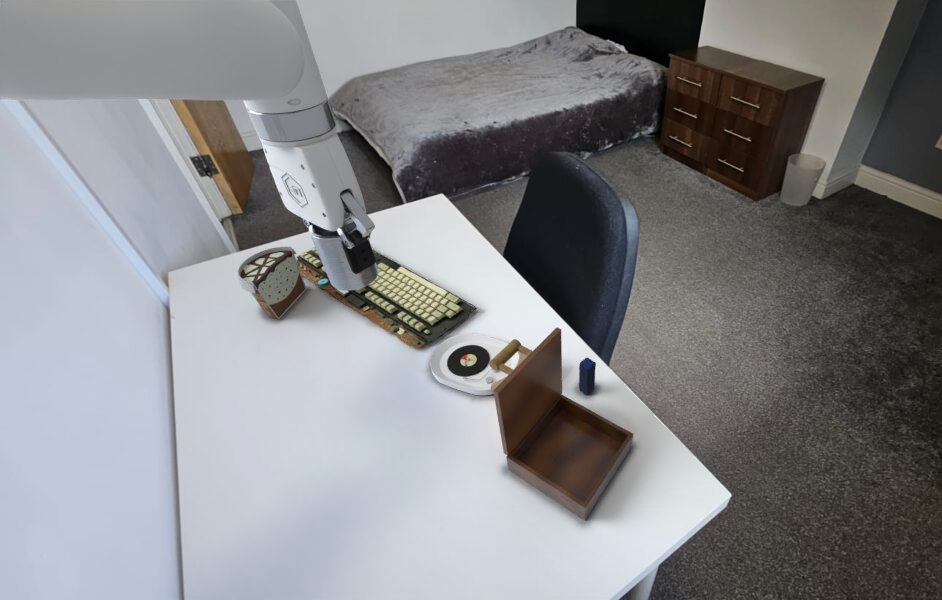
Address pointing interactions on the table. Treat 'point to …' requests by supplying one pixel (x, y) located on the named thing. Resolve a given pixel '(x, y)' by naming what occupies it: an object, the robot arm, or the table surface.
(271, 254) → the food container
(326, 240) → the steel cup
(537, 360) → the lid
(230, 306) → the table surface
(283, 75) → the robot arm
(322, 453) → the table surface
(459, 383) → the record player
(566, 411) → the storage box
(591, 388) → the eraser
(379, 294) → the keyboard
